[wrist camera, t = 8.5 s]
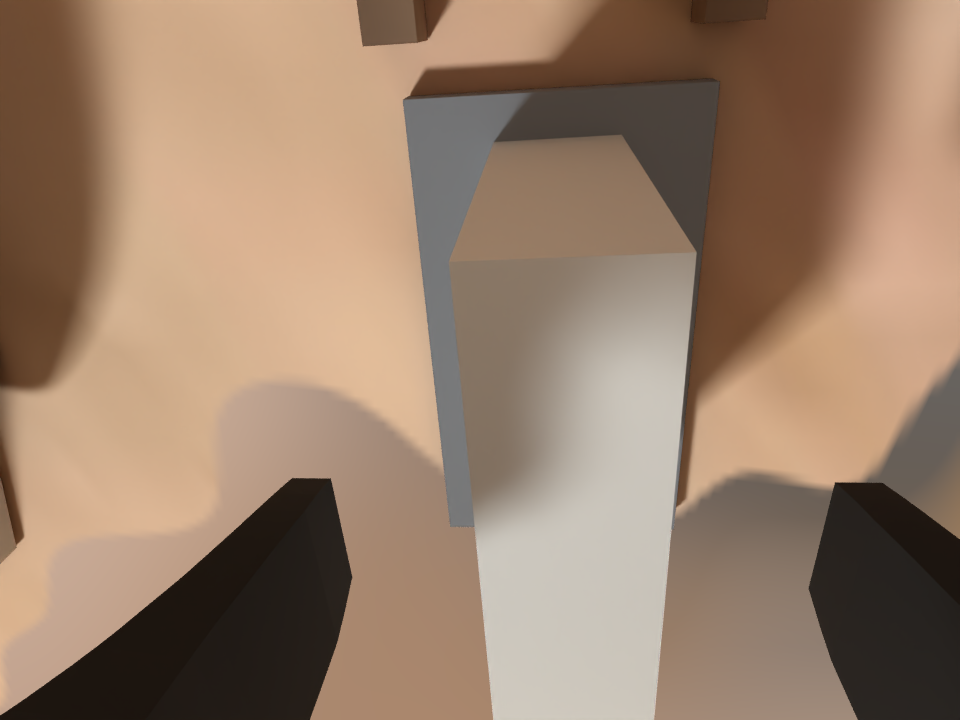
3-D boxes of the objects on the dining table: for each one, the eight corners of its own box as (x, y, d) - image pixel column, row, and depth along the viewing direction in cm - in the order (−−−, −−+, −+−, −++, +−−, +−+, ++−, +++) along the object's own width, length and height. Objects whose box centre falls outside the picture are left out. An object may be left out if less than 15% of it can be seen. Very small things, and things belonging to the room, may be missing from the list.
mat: (712, 78, 12) (720, 81, 12) (669, 513, 18) (673, 529, 17) (408, 96, 13) (402, 99, 13) (452, 511, 18) (450, 526, 18)
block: (621, 134, 13) (696, 252, 6) (610, 495, 17) (648, 774, 11) (493, 142, 13) (449, 261, 7) (514, 495, 17) (497, 767, 11)
